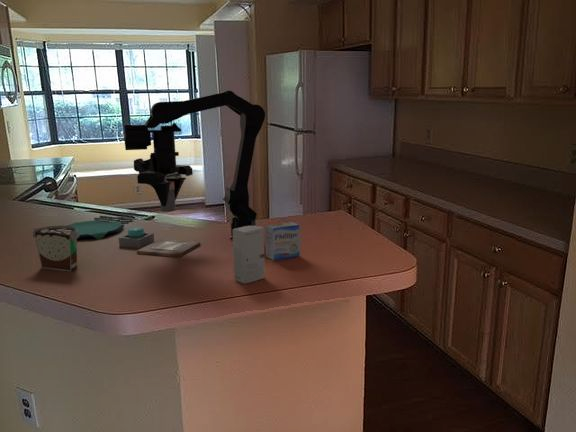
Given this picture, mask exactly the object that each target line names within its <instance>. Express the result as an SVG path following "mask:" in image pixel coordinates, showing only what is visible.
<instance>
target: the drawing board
mask: <svg viewBox="0 0 576 432" xmlns="http://www.w3.org/2000/svg"><path fill="white" fill-rule="evenodd" d="M199 246H201V241H190V240H189V241H188V240H187V241H186V240H177V239H176V240H175V239H165V238H164V239H162V238H160V239H158V240H156V241H154V242H153V243H150V244H148V245H146V246H144V247H142V248H138V249H137V250H136V254H140V255H150V256H151V255H153V256H161V257H172V258H180V257H181V256H183V255H186V254H187V253H189V252H191V251H193V250H194V249H196V248H197V247H199Z"/></svg>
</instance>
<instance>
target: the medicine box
mask: <svg viewBox="0 0 576 432" xmlns="http://www.w3.org/2000/svg"><path fill="white" fill-rule="evenodd" d="M300 242H301V241H300V224H298V223H296V222H293V221H291V222H290V221H289V222H284V223H282V222H281V223H277V224H270V225H269V224H268V225H265V255H266V257H267V258H269V260H272V261H275V262H277V261H281V260H286V259H287V260H288V259H292V258H296V257H300V252H301V251H300V249H301V248H300V247H301V245H300Z"/></svg>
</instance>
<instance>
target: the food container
mask: <svg viewBox="0 0 576 432" xmlns="http://www.w3.org/2000/svg"><path fill="white" fill-rule="evenodd" d="M69 225H70V224H67V225H65V224H59V225H58V224H57V225H56V224H55V225H49V226H41V227H37V228H33V231H32V238H34V239H35V243H36V244H35V245H36V249H37V253H38V258H39V263H40V267H41V269H46V270H47V269H49V270H57V271H65V272H73V271H75V270H77V268H78V242H77V241H78V240H77V239H79V238H80V237H79V233H78V230H77V229H76V227H74V226H69Z"/></svg>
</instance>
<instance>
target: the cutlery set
mask: <svg viewBox="0 0 576 432" xmlns="http://www.w3.org/2000/svg"><path fill="white" fill-rule="evenodd" d="M107 218H110V219H107ZM138 219H139V218H138V217H137V218H135V217H128V216H123V215H122V216H116V217H115V216H109V215H108V216H107V215H99V217H93V220H83V221H78V222H73V223H71V224H68V225H69V226H74V227H76V229H77V230H78V233H79V238H91V237H94V238H95V239H96V240H101V239H103V238H104V237H105V236H106V235H109V234H113V233H115V232H118V231H120V230H122V229H123V228H124V227H125V225H126V224H125V223H127V224H129V223H130V222H132V221H133V220H138ZM120 220H121V221H120ZM122 223H124V224H122ZM100 238H101V239H100Z"/></svg>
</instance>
